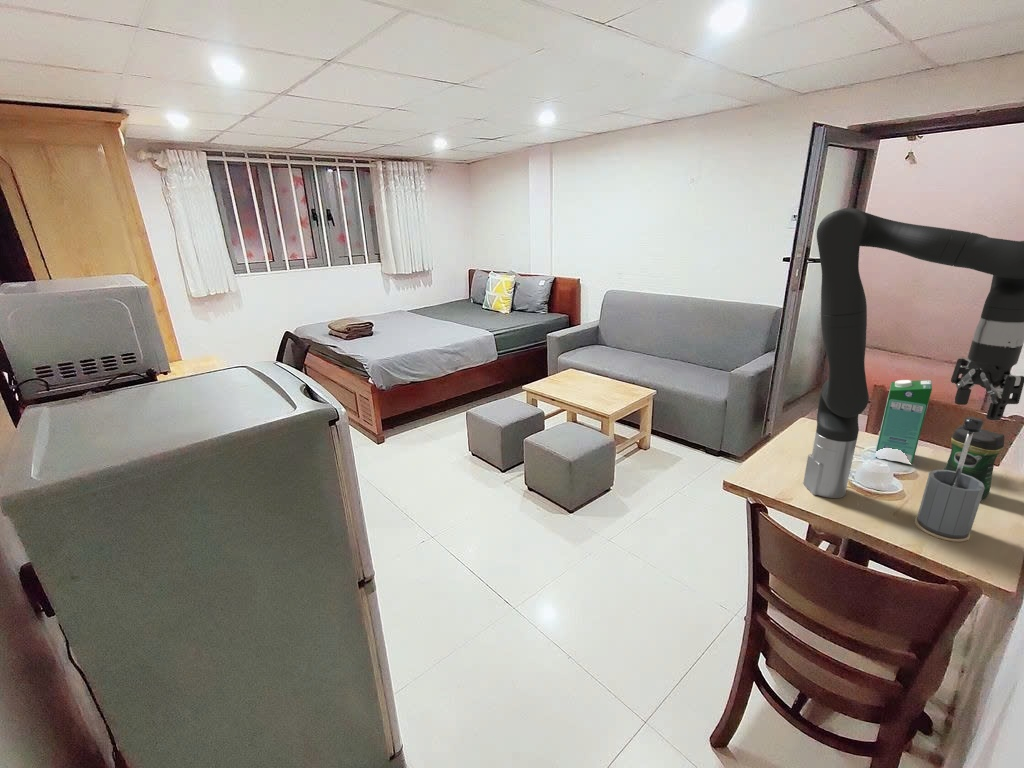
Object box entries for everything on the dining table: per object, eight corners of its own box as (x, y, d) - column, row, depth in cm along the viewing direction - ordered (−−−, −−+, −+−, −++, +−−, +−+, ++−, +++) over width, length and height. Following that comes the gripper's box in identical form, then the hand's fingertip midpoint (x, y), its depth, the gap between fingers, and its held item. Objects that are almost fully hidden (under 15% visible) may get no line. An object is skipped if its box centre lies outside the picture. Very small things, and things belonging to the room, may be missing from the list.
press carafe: (934, 541, 109) (949, 491, 104) (904, 515, 118) (917, 468, 114) (981, 542, 108) (998, 491, 103) (948, 516, 117) (962, 469, 112)
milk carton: (876, 446, 152) (893, 374, 144) (912, 454, 147) (931, 379, 138) (874, 457, 146) (891, 383, 137) (911, 465, 140) (932, 388, 132)
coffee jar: (992, 495, 124) (1013, 432, 118) (977, 504, 121) (998, 440, 115) (947, 479, 132) (965, 419, 126) (932, 486, 129) (950, 426, 123)
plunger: (947, 501, 107) (970, 425, 100) (926, 485, 113) (946, 413, 107) (979, 501, 106) (1004, 425, 100) (956, 486, 112) (978, 413, 106)
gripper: (951, 333, 104) (933, 400, 110) (1008, 349, 91) (984, 425, 96) (988, 332, 104) (968, 399, 109) (1051, 348, 90) (1025, 424, 96)
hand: (976, 411), depth 103 cm, fingers open, 8 cm apart
